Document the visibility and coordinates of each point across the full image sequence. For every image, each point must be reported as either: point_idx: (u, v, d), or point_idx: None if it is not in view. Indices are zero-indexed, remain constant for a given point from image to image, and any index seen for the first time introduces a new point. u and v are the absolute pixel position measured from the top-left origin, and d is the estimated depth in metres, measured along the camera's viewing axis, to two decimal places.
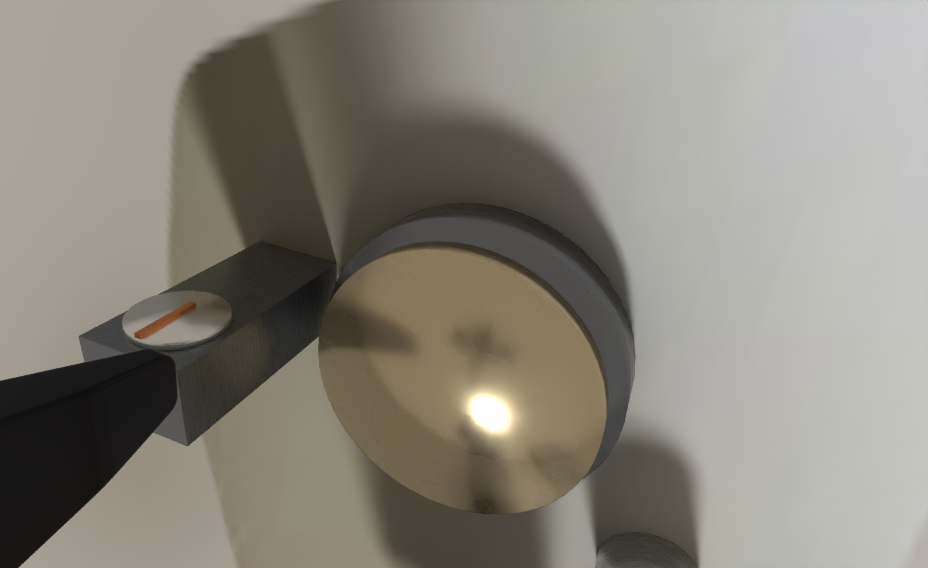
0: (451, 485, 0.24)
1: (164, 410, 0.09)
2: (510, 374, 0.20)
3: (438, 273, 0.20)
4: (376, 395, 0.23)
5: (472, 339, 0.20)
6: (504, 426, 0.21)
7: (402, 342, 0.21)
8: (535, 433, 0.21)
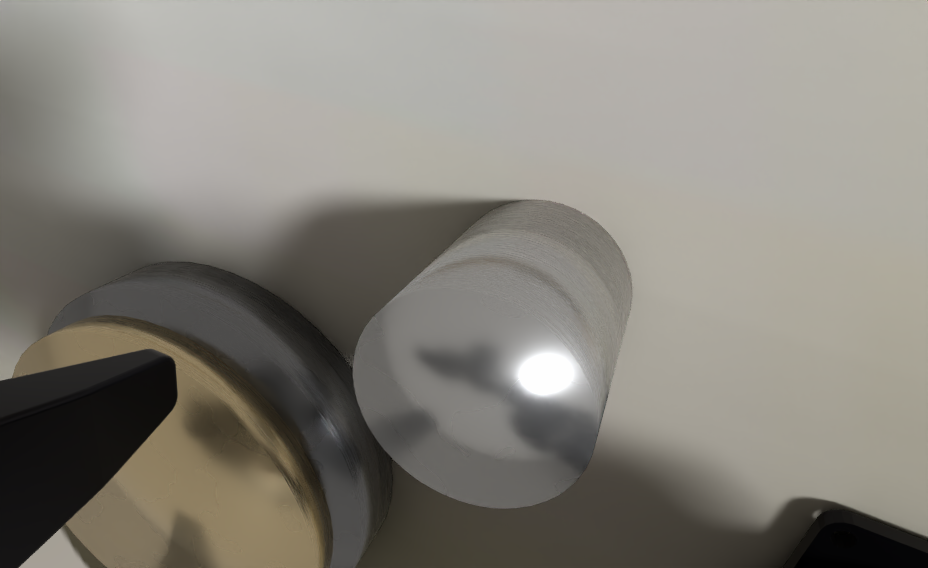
0: (276, 548, 0.16)
1: (164, 410, 0.09)
2: None
3: None
4: None
5: None
6: (164, 451, 0.16)
7: (117, 520, 0.19)
8: None
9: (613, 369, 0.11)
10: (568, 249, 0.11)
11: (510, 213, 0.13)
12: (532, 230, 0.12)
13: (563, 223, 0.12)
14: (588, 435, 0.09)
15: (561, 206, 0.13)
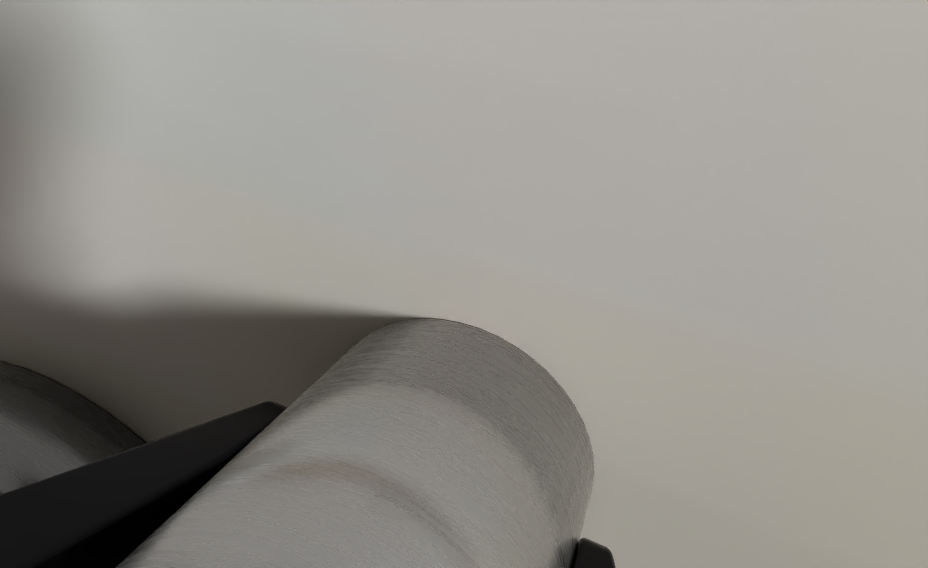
0: None
1: None
2: None
3: None
4: None
5: None
6: None
7: None
8: None
9: None
10: (465, 447, 0.06)
11: (388, 353, 0.08)
12: (406, 407, 0.07)
13: (470, 378, 0.07)
14: None
15: (477, 334, 0.08)
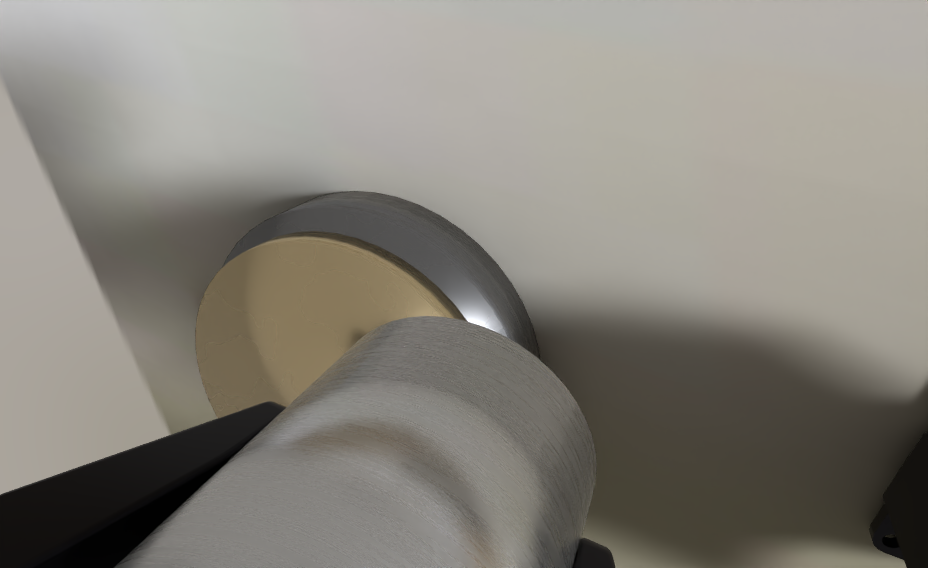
0: None
1: None
2: (288, 332, 0.19)
3: (215, 375, 0.21)
4: None
5: (265, 361, 0.20)
6: None
7: None
8: (348, 320, 0.18)
9: None
10: (468, 445, 0.06)
11: (390, 350, 0.08)
12: (409, 404, 0.07)
13: (472, 375, 0.07)
14: None
15: (480, 332, 0.08)
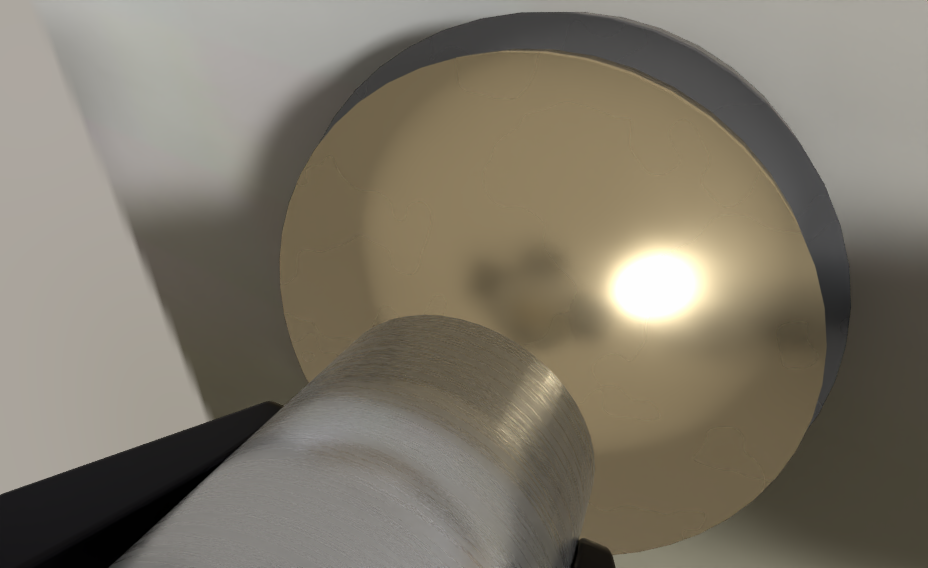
0: (739, 403, 0.11)
1: None
2: (452, 226, 0.11)
3: (308, 303, 0.14)
4: None
5: (400, 278, 0.12)
6: (566, 258, 0.11)
7: None
8: (574, 198, 0.10)
9: None
10: (465, 443, 0.06)
11: (388, 349, 0.08)
12: (407, 403, 0.07)
13: (470, 374, 0.07)
14: None
15: (477, 330, 0.08)
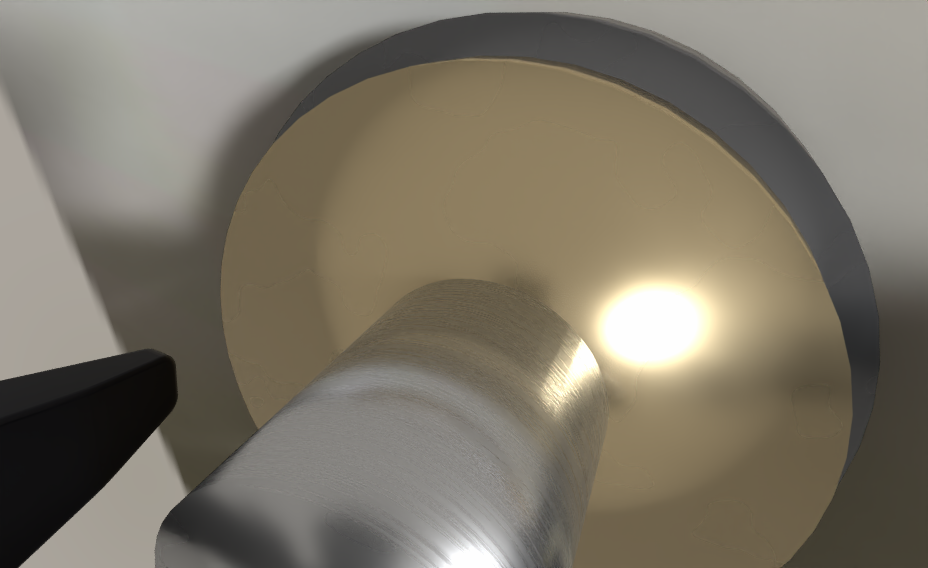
0: (746, 475, 0.09)
1: (164, 410, 0.09)
2: (410, 263, 0.10)
3: (254, 344, 0.12)
4: None
5: (353, 320, 0.11)
6: (542, 302, 0.09)
7: None
8: (551, 233, 0.09)
9: None
10: (503, 376, 0.07)
11: (430, 305, 0.09)
12: (452, 343, 0.08)
13: (503, 324, 0.08)
14: None
15: (506, 291, 0.09)
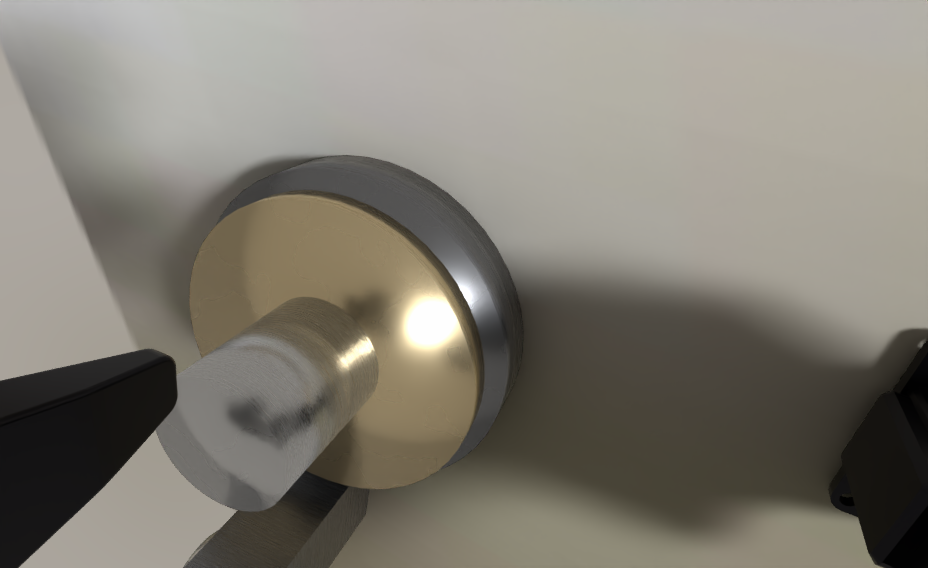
0: (439, 392, 0.19)
1: (164, 410, 0.09)
2: (281, 288, 0.20)
3: (208, 331, 0.22)
4: (344, 435, 0.21)
5: (257, 317, 0.21)
6: (341, 308, 0.19)
7: None
8: (339, 276, 0.18)
9: (326, 421, 0.17)
10: (303, 340, 0.17)
11: (283, 310, 0.19)
12: (283, 327, 0.17)
13: (313, 319, 0.18)
14: (282, 466, 0.15)
15: (323, 303, 0.19)
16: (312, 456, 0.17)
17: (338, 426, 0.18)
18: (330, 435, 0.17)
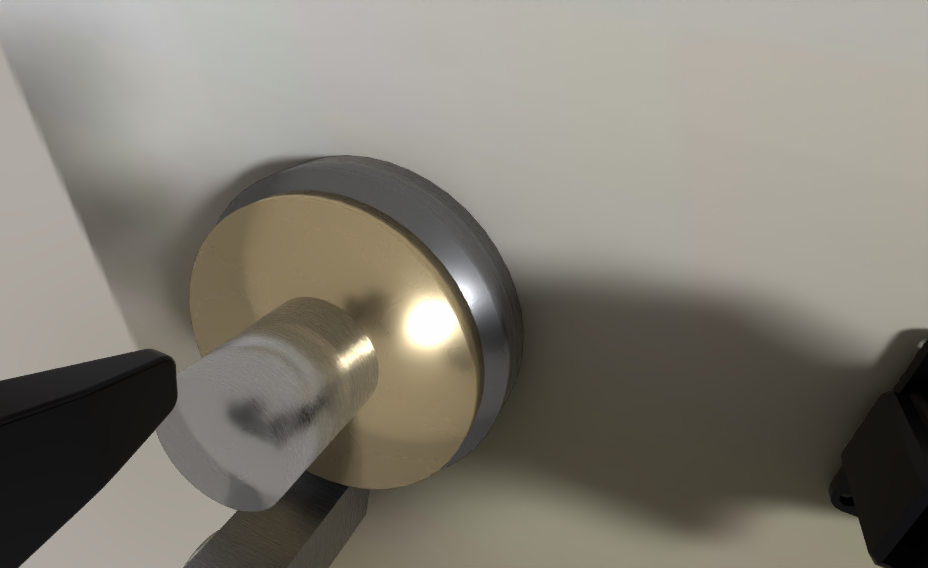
0: (439, 392, 0.19)
1: (164, 410, 0.09)
2: (281, 288, 0.20)
3: (208, 331, 0.22)
4: (344, 435, 0.21)
5: (257, 317, 0.21)
6: (341, 308, 0.19)
7: None
8: (339, 276, 0.18)
9: (325, 421, 0.17)
10: (303, 341, 0.17)
11: (283, 310, 0.19)
12: (283, 327, 0.17)
13: (313, 319, 0.18)
14: (281, 466, 0.15)
15: (323, 303, 0.19)
16: (312, 456, 0.17)
17: (338, 426, 0.18)
18: (330, 435, 0.17)
